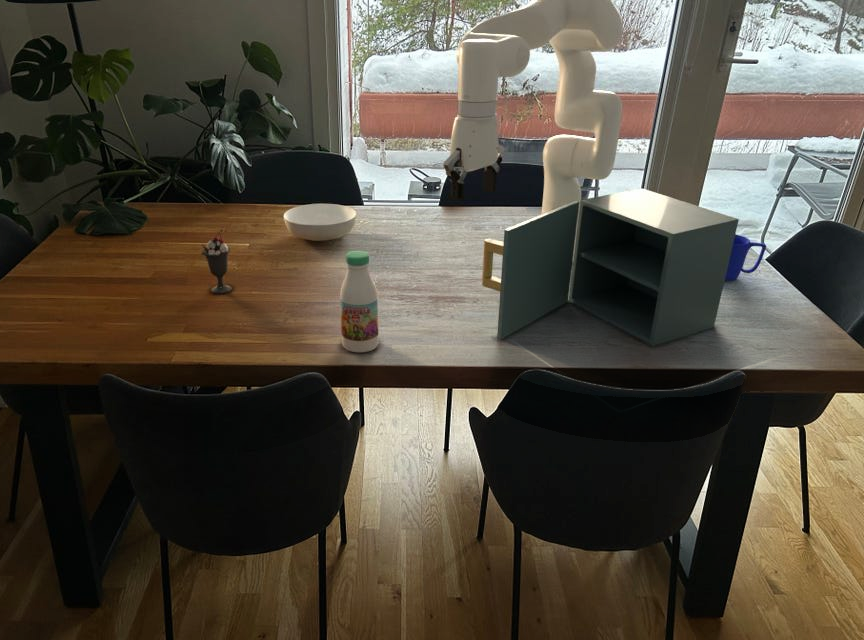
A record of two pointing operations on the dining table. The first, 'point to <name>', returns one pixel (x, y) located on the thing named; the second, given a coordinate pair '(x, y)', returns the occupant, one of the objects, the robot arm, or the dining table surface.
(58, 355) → the dining table surface
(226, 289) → the sundae
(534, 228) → the cabinet door
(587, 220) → the cabinet
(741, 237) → the mug
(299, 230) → the serving bowl
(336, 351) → the dining table surface
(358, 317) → the milk bottle
